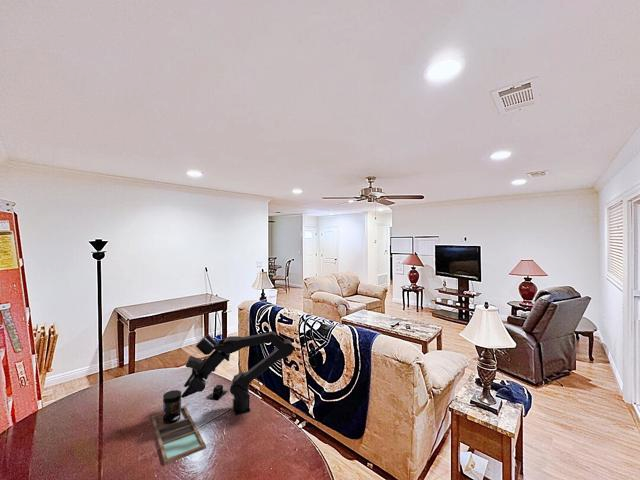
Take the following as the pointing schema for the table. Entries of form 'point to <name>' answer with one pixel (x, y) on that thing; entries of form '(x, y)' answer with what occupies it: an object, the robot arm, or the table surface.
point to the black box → (217, 393)
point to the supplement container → (171, 407)
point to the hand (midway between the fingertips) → (183, 391)
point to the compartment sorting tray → (178, 438)
